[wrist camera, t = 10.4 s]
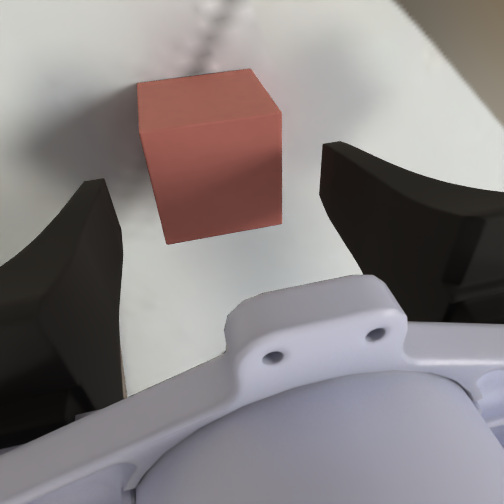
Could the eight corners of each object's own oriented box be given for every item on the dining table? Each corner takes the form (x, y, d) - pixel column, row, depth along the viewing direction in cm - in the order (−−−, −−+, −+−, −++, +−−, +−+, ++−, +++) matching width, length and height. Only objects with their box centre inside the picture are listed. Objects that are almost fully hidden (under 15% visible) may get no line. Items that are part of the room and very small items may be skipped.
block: (251, 67, 16) (282, 112, 13) (256, 168, 19) (282, 224, 16) (136, 82, 15) (138, 132, 12) (159, 183, 18) (166, 245, 15)
